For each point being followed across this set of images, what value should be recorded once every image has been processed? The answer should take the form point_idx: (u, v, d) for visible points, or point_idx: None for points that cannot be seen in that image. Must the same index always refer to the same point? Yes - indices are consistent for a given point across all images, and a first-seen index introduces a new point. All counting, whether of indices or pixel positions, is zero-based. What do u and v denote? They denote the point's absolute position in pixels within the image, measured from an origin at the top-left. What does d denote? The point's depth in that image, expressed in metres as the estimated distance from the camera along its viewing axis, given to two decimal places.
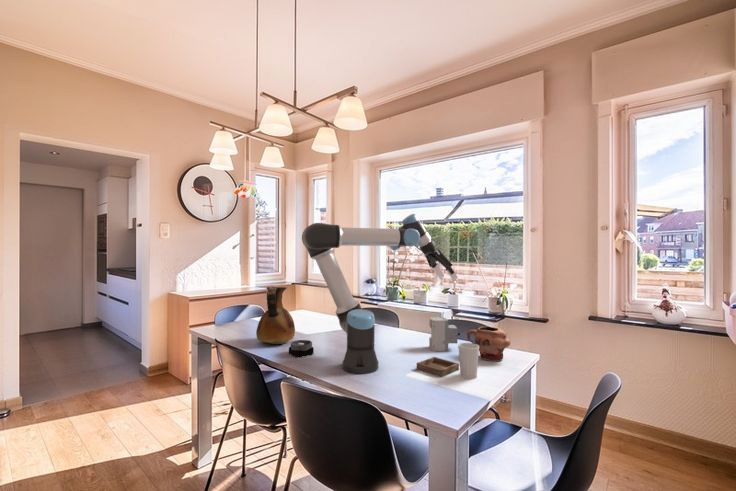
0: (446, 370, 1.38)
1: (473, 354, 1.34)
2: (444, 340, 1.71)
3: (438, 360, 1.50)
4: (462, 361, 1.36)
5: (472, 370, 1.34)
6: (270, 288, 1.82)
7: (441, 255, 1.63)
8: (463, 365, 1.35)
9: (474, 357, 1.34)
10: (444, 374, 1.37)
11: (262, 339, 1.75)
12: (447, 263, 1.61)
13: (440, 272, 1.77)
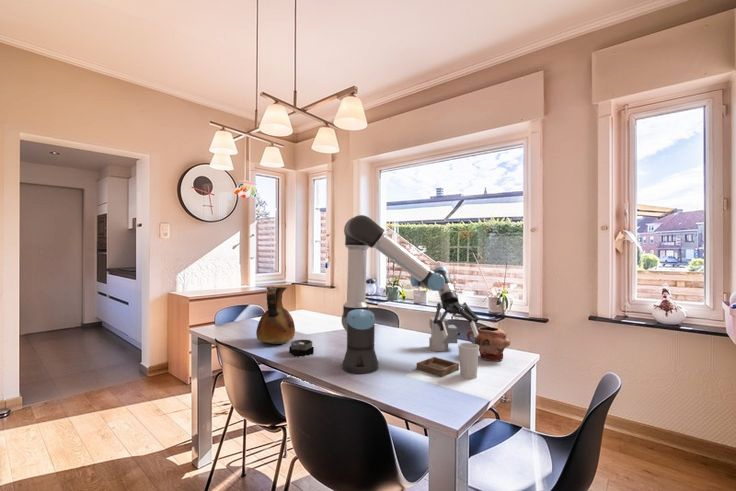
0: (446, 370, 1.38)
1: (473, 354, 1.34)
2: (444, 340, 1.71)
3: (438, 360, 1.50)
4: (462, 361, 1.36)
5: (472, 370, 1.34)
6: (270, 288, 1.82)
7: None
8: (463, 365, 1.35)
9: (474, 357, 1.34)
10: (444, 374, 1.37)
11: (262, 339, 1.75)
12: None
13: None
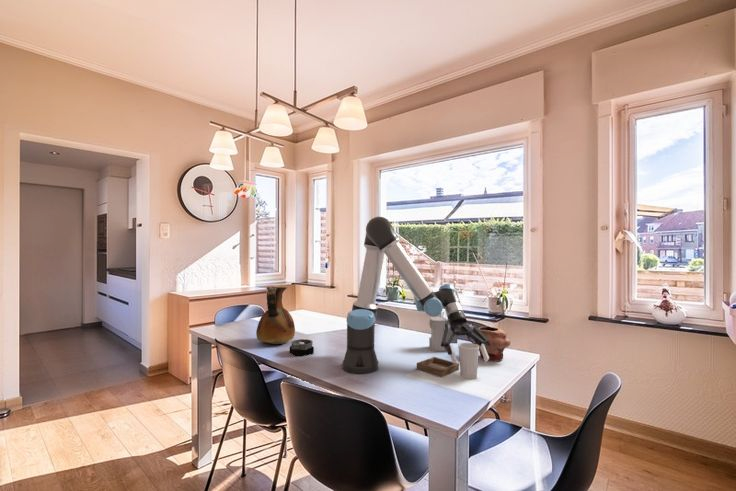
0: (446, 370, 1.38)
1: (473, 354, 1.34)
2: None
3: (438, 360, 1.50)
4: (462, 361, 1.36)
5: (472, 370, 1.34)
6: (270, 288, 1.82)
7: None
8: (463, 365, 1.35)
9: (474, 357, 1.34)
10: (444, 374, 1.37)
11: (262, 339, 1.75)
12: None
13: None
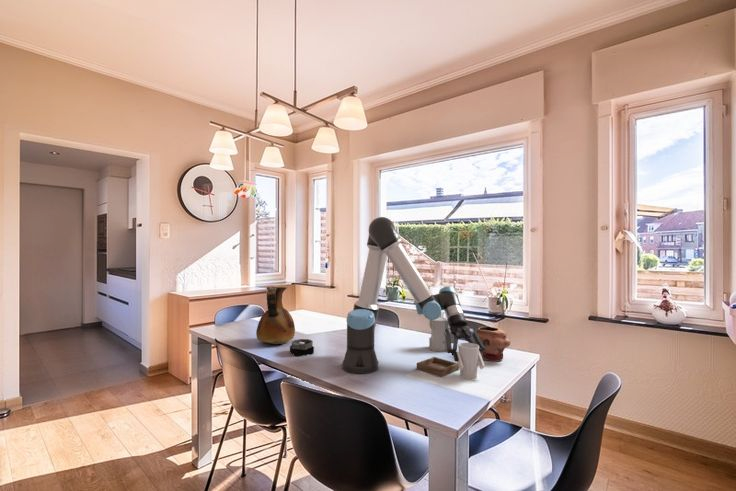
0: (446, 370, 1.38)
1: (473, 354, 1.34)
2: (444, 340, 1.71)
3: (438, 360, 1.50)
4: (462, 361, 1.36)
5: (472, 370, 1.34)
6: (270, 288, 1.82)
7: None
8: (463, 365, 1.35)
9: (474, 357, 1.34)
10: (444, 374, 1.37)
11: (262, 339, 1.75)
12: None
13: None
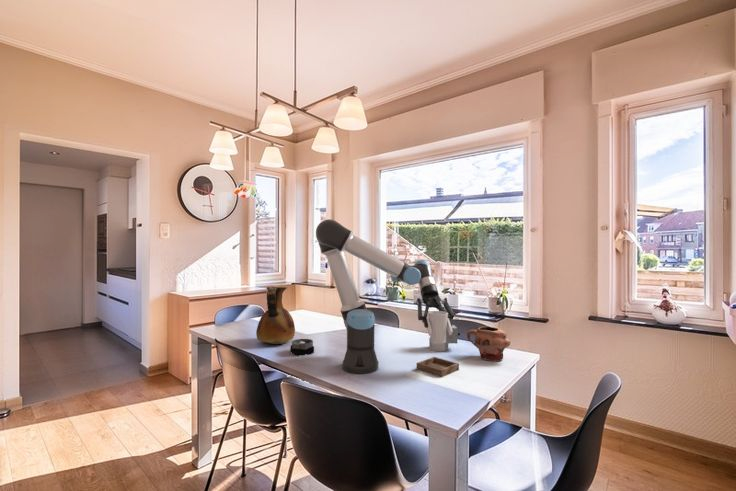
0: (446, 370, 1.38)
1: (441, 320, 1.41)
2: None
3: (438, 360, 1.50)
4: (431, 327, 1.43)
5: (441, 335, 1.41)
6: (270, 288, 1.82)
7: None
8: (432, 331, 1.42)
9: (442, 323, 1.41)
10: (444, 374, 1.37)
11: (262, 339, 1.75)
12: None
13: None
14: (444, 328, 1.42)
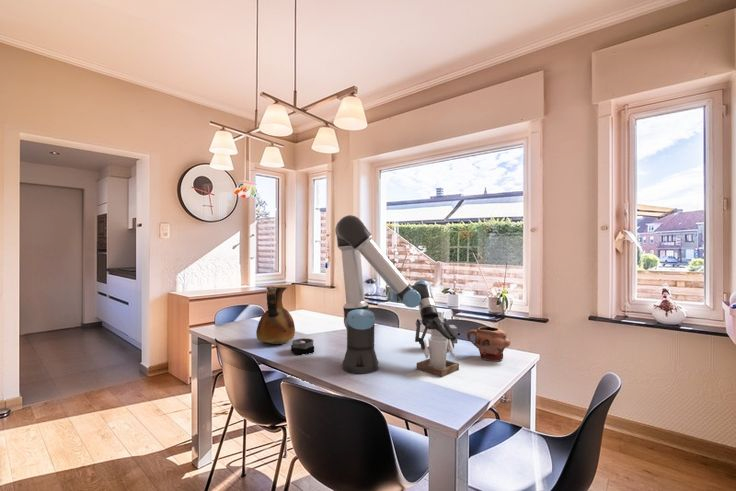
0: (446, 370, 1.38)
1: (441, 347, 1.41)
2: None
3: None
4: (431, 354, 1.43)
5: (440, 362, 1.41)
6: (270, 288, 1.82)
7: None
8: (432, 357, 1.42)
9: (442, 350, 1.41)
10: (444, 374, 1.37)
11: (262, 339, 1.75)
12: None
13: None
14: (444, 355, 1.42)
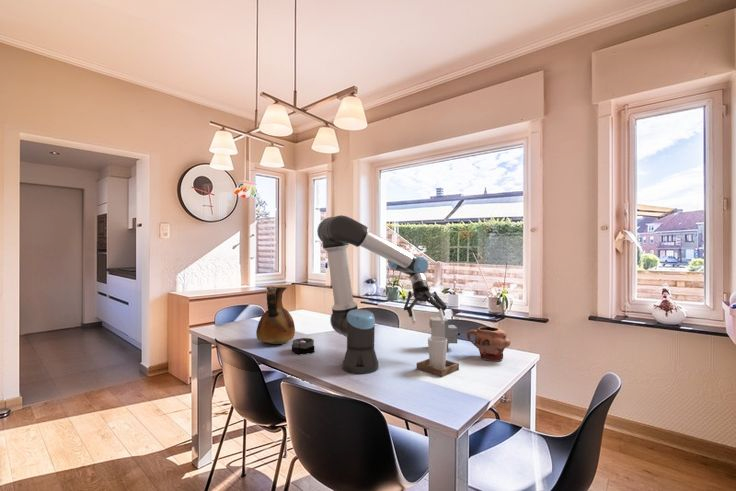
0: (446, 370, 1.38)
1: (441, 347, 1.41)
2: None
3: None
4: (431, 354, 1.43)
5: (440, 362, 1.41)
6: (270, 288, 1.82)
7: None
8: (432, 357, 1.42)
9: (442, 350, 1.41)
10: (444, 374, 1.37)
11: (262, 339, 1.75)
12: None
13: None
14: (444, 355, 1.42)
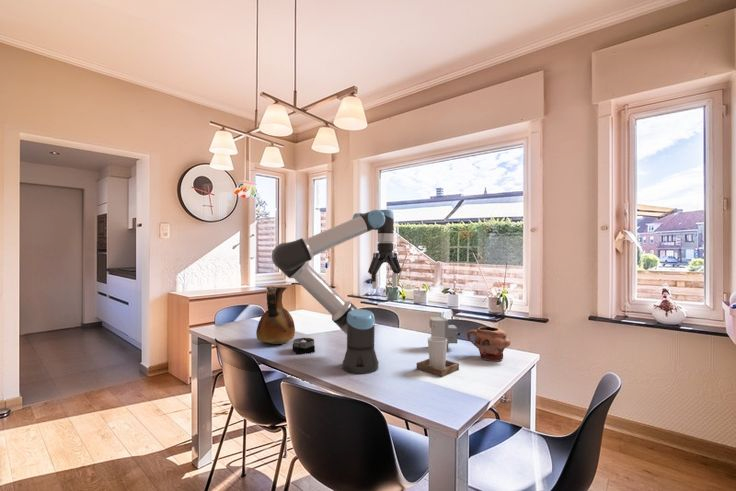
0: (446, 370, 1.38)
1: (441, 347, 1.41)
2: None
3: None
4: (431, 354, 1.43)
5: (440, 362, 1.41)
6: (270, 288, 1.82)
7: None
8: (432, 358, 1.42)
9: (442, 350, 1.41)
10: (444, 374, 1.37)
11: (262, 339, 1.75)
12: None
13: None
14: (444, 355, 1.42)
